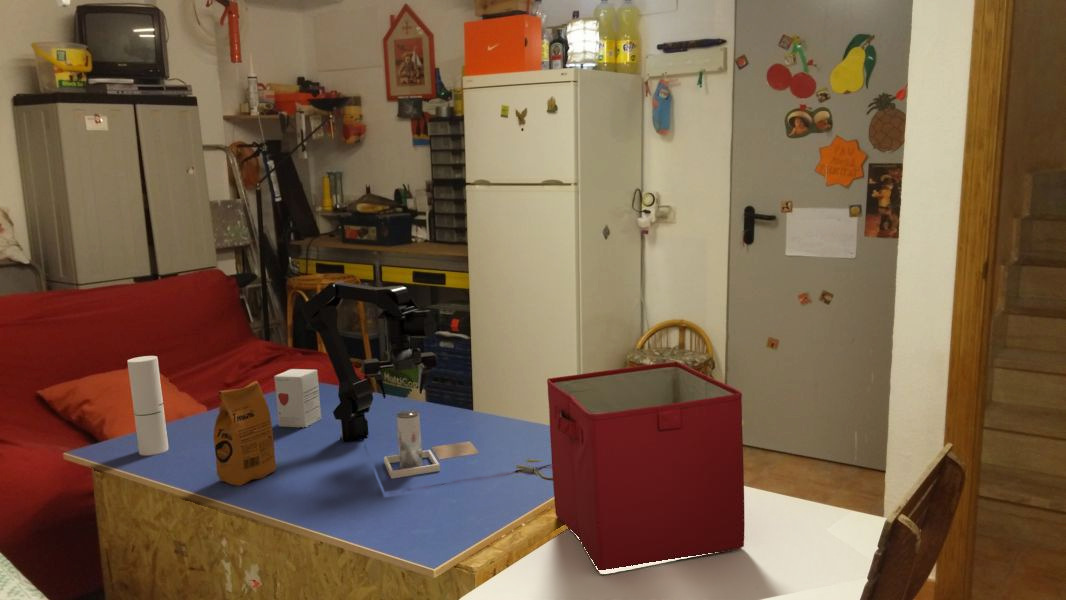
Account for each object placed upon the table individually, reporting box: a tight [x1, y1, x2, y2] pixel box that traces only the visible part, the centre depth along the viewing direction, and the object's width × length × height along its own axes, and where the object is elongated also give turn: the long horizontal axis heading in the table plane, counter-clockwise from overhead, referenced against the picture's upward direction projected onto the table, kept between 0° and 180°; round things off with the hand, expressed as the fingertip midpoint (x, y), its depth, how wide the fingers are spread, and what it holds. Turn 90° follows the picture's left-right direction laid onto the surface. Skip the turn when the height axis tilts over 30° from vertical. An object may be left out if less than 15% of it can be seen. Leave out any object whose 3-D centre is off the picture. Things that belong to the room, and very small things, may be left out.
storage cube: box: [546, 361, 746, 570], centre depth 153 cm, size 32×28×29 cm
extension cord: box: [515, 458, 553, 481], centre depth 190 cm, size 12×16×2 cm
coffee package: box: [213, 380, 277, 487], centre depth 195 cm, size 10×12×22 cm
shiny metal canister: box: [396, 410, 424, 470], centre depth 193 cm, size 5×5×13 cm
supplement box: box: [274, 368, 322, 429], centre depth 237 cm, size 9×9×15 cm
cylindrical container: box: [127, 355, 170, 456], centre depth 217 cm, size 7×7×25 cm
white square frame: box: [383, 449, 441, 479], centre depth 194 cm, size 11×11×2 cm
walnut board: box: [430, 440, 480, 460], centre depth 204 cm, size 10×10×1 cm
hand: (402, 395), depth 212 cm, fingers open, 9 cm apart
